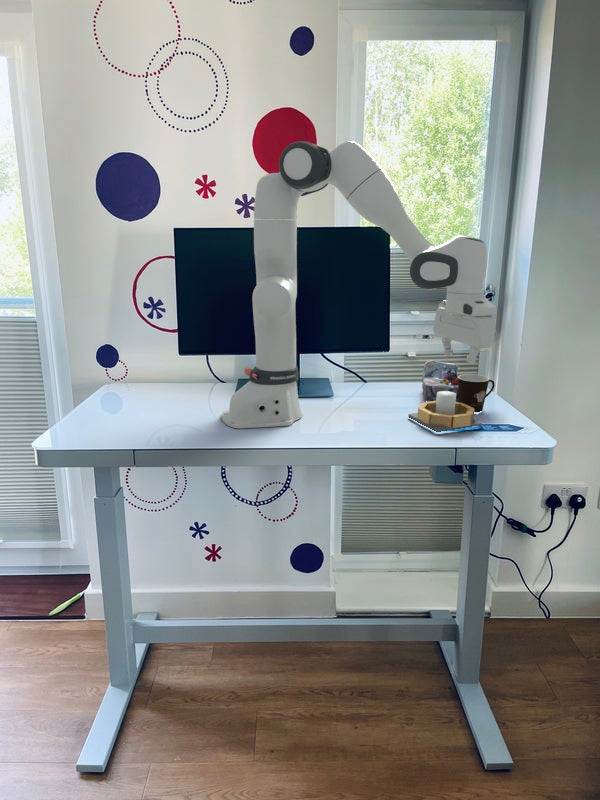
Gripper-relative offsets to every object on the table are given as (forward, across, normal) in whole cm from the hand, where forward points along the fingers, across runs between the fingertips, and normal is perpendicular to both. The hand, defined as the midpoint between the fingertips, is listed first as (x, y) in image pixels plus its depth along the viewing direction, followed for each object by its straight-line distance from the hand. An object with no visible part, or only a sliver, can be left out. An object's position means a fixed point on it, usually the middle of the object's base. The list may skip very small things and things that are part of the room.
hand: (459, 358), depth 148 cm
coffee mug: (+19, -11, +16) cm, 27 cm away
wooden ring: (+18, -5, +1) cm, 18 cm away
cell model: (+19, -26, +14) cm, 36 cm away
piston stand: (+19, -5, +1) cm, 20 cm away
